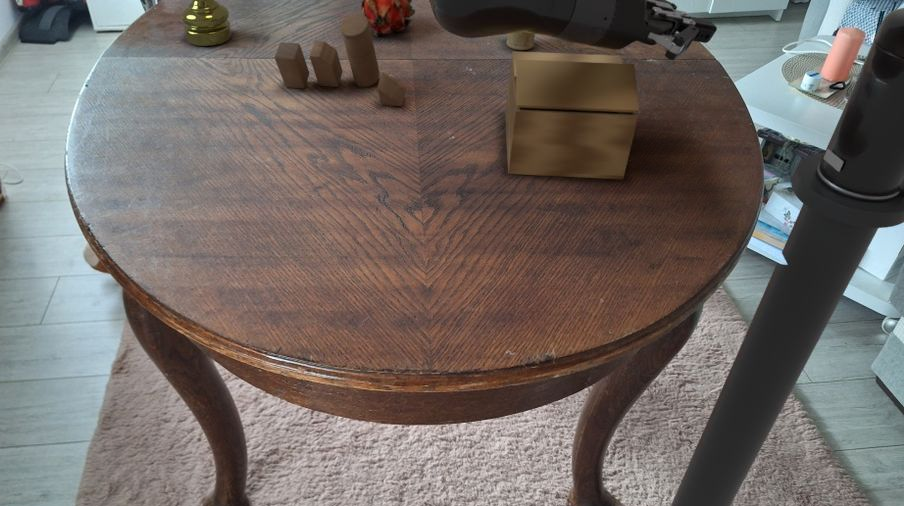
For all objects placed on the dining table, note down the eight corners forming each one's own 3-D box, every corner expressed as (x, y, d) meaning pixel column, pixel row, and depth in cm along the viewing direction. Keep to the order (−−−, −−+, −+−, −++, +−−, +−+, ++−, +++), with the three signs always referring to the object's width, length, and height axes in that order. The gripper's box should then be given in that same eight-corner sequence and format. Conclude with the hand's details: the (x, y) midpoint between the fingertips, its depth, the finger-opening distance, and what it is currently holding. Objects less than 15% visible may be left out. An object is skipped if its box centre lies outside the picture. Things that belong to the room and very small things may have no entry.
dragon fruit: (400, 24, 130) (385, 62, 123) (361, -6, 127) (342, 30, 120) (428, -10, 124) (413, 27, 117) (387, -43, 122) (370, -7, 114)
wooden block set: (284, 104, 109) (264, 54, 100) (300, 60, 112) (282, 7, 103) (403, 114, 105) (393, 63, 96) (415, 68, 109) (406, 15, 100)
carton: (607, 120, 101) (620, 55, 95) (623, 179, 90) (639, 110, 84) (505, 115, 102) (512, 51, 96) (508, 174, 91) (516, 105, 85)
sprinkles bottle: (536, 51, 118) (548, -36, 110) (508, 51, 118) (517, -36, 109) (530, 39, 122) (541, -46, 113) (503, 40, 122) (512, -45, 113)
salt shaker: (180, 34, 122) (167, -28, 116) (222, 26, 125) (213, -35, 119) (194, 50, 117) (182, -14, 111) (238, 41, 120) (229, -22, 114)
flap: (633, 66, 88) (634, 63, 88) (638, 112, 84) (639, 110, 84) (516, 61, 89) (516, 59, 88) (516, 107, 85) (516, 105, 85)
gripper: (635, 9, 76) (759, 33, 82) (583, -51, 84) (700, -25, 90) (600, 72, 81) (720, 90, 87) (554, 10, 89) (667, 30, 96)
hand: (709, 32), depth 89 cm, fingers closed
